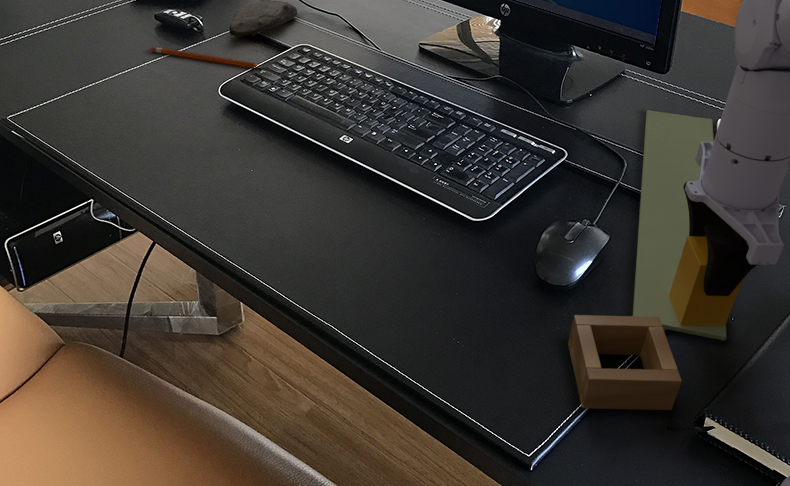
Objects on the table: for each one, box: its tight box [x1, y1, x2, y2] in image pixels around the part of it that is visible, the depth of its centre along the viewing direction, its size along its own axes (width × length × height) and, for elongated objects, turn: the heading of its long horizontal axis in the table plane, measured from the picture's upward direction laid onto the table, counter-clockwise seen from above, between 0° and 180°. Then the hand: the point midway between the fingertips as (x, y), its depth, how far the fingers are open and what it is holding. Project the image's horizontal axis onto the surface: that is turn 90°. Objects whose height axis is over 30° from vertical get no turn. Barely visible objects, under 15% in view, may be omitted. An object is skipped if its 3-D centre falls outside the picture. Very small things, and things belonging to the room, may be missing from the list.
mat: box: [632, 109, 727, 342], centre depth 85 cm, size 40×8×1 cm, turn 164°
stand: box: [567, 314, 683, 411], centre depth 65 cm, size 7×7×4 cm
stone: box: [228, 0, 298, 38], centre depth 119 cm, size 13×6×5 cm
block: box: [669, 236, 744, 326], centre depth 69 cm, size 4×4×7 cm
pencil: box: [151, 46, 259, 69], centre depth 111 cm, size 1×18×1 cm, turn 72°
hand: (708, 275), depth 69 cm, fingers closed on block, 4 cm apart
